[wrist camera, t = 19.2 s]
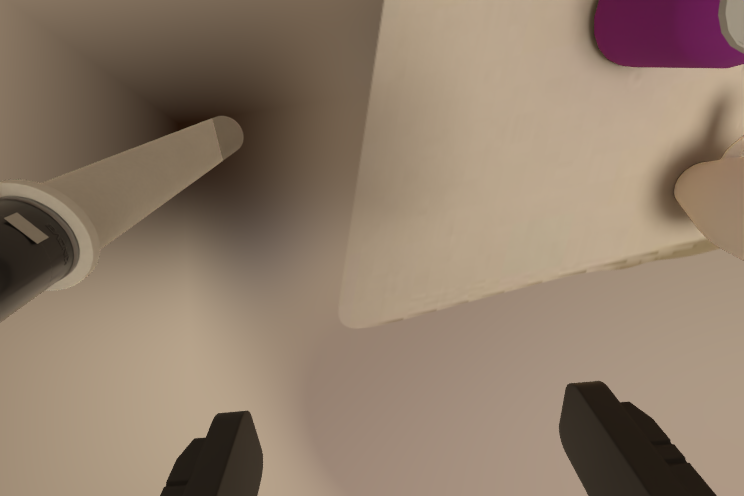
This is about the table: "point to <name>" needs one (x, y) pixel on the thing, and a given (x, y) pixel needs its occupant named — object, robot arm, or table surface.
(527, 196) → the table surface
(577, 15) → the table surface
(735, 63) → the beverage can
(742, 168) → the mug
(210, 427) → the robot arm
